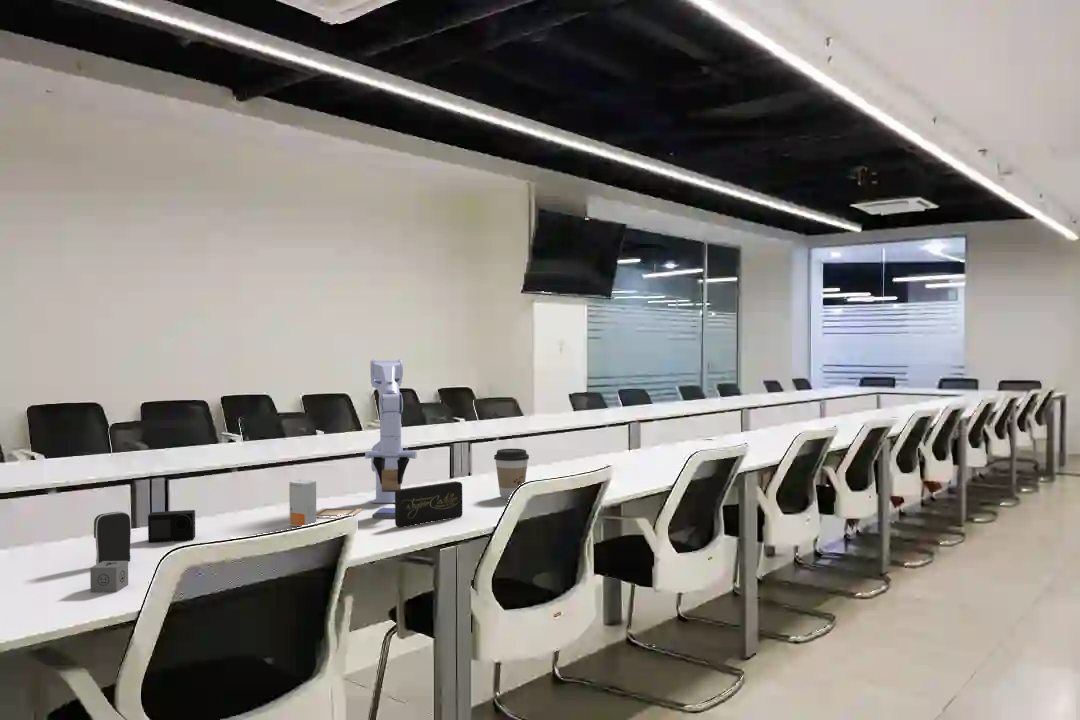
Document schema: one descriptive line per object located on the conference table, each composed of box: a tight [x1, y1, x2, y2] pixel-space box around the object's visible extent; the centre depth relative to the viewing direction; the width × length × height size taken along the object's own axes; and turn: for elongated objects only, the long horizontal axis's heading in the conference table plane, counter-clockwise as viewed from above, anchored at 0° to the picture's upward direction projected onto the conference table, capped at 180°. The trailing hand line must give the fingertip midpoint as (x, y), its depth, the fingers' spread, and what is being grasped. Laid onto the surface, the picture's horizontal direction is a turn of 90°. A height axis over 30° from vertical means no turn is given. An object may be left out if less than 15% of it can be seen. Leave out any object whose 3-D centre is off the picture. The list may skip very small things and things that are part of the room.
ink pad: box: [371, 507, 395, 519], centre depth 234 cm, size 9×9×1 cm
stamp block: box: [382, 468, 402, 492], centre depth 234 cm, size 4×4×6 cm
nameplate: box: [394, 481, 463, 528], centre depth 225 cm, size 21×2×10 cm, turn 132°
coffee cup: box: [493, 448, 530, 500], centre depth 261 cm, size 11×11×15 cm
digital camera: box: [147, 509, 196, 544], centre depth 205 cm, size 10×5×7 cm, turn 106°
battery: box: [93, 511, 132, 565], centre depth 182 cm, size 7×4×11 cm, turn 137°
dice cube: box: [89, 561, 129, 594], centre depth 163 cm, size 5×5×5 cm
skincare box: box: [288, 479, 317, 528], centre depth 220 cm, size 6×4×12 cm
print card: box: [316, 507, 363, 517], centre depth 236 cm, size 12×12×1 cm
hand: (391, 483), depth 234 cm, fingers closed on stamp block, 4 cm apart
